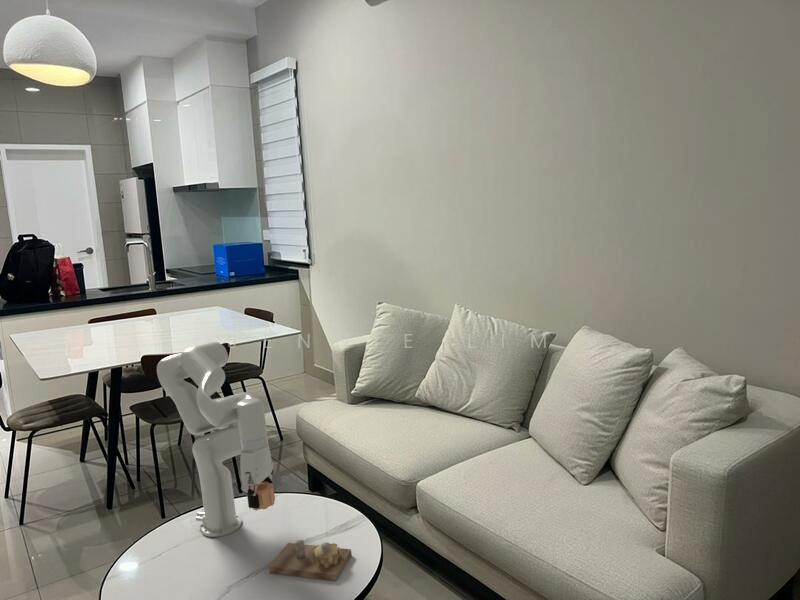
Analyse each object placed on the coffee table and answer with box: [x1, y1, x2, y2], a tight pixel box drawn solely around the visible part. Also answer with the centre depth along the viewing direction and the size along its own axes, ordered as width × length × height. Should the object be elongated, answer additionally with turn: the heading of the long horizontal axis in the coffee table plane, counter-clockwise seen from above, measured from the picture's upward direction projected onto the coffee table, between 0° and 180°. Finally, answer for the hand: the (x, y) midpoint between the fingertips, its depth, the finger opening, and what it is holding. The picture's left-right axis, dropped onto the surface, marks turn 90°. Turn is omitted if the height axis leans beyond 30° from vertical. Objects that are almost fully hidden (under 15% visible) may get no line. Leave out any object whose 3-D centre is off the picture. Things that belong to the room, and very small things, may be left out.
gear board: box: [268, 539, 353, 582], centre depth 172 cm, size 20×12×6 cm, turn 74°
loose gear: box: [250, 482, 276, 511], centre depth 174 cm, size 7×7×5 cm
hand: (261, 500), depth 175 cm, fingers closed on loose gear, 7 cm apart
